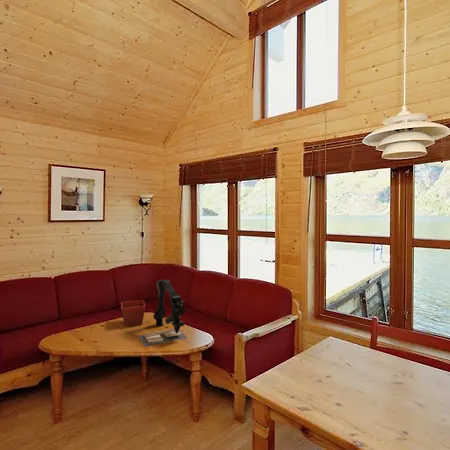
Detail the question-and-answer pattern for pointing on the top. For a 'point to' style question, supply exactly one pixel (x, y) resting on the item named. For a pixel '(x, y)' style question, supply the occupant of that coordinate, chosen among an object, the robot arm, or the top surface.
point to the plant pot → (133, 312)
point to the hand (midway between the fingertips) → (176, 332)
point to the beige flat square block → (172, 334)
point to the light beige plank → (154, 339)
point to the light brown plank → (158, 333)
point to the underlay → (165, 339)
